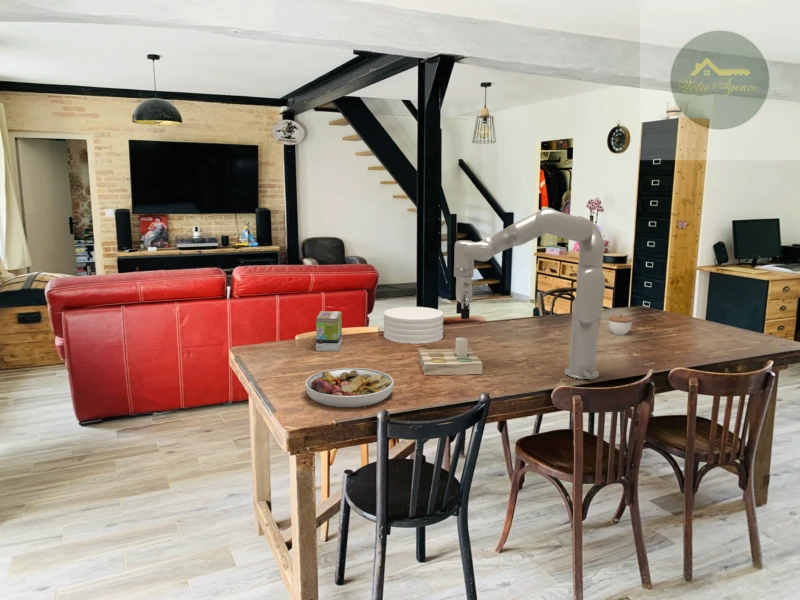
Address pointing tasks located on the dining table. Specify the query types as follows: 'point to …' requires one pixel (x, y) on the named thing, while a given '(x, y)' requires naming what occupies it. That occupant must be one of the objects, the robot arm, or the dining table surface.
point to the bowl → (349, 387)
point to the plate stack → (413, 325)
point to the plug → (461, 347)
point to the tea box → (328, 331)
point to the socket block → (449, 362)
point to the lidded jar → (620, 324)
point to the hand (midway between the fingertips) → (462, 315)
